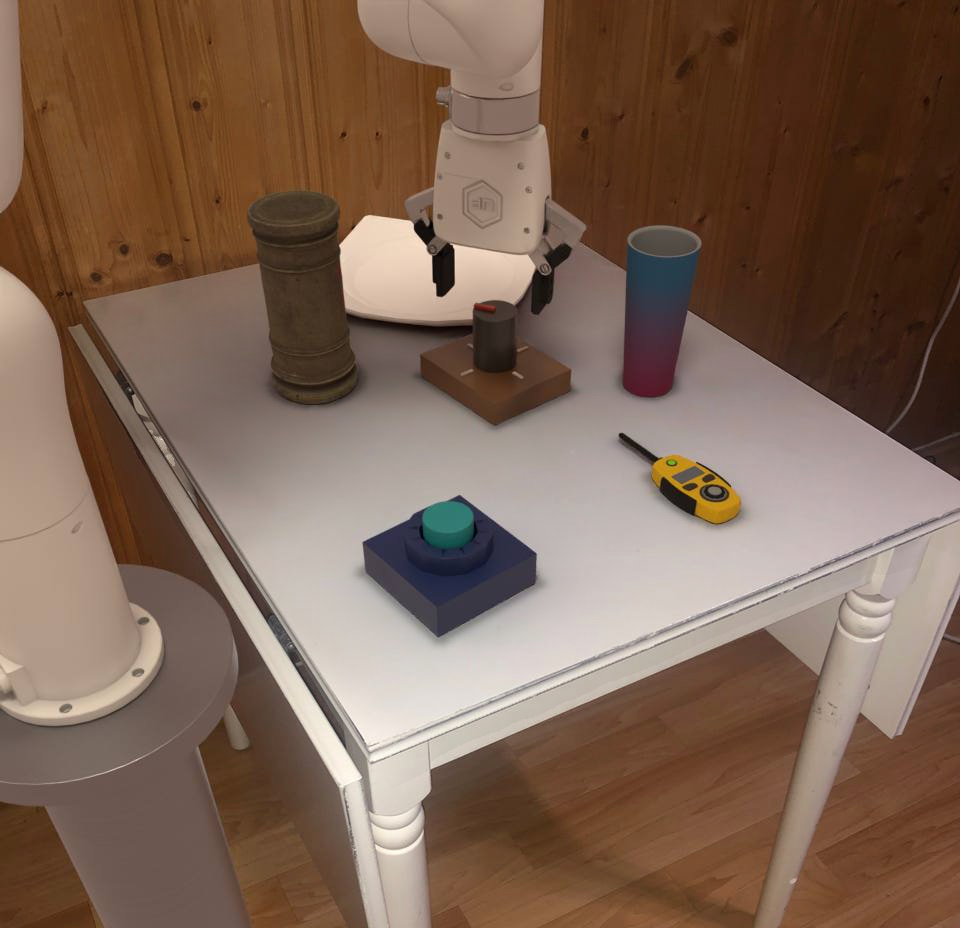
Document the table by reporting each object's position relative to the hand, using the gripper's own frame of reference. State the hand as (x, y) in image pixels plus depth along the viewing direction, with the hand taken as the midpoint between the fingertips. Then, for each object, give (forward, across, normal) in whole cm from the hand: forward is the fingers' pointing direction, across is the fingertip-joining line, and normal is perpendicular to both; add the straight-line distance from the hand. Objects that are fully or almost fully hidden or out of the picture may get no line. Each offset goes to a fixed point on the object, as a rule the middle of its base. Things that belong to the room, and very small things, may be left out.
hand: (492, 299), depth 101 cm
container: (+10, -17, -5) cm, 21 cm away
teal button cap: (+5, +7, -29) cm, 30 cm away
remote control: (+10, +21, -9) cm, 25 cm away
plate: (+9, -15, +19) cm, 25 cm away
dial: (+7, 0, +1) cm, 7 cm away
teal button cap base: (+10, +7, -29) cm, 31 cm away
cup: (+9, +15, +6) cm, 19 cm away
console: (+9, 0, +1) cm, 9 cm away
